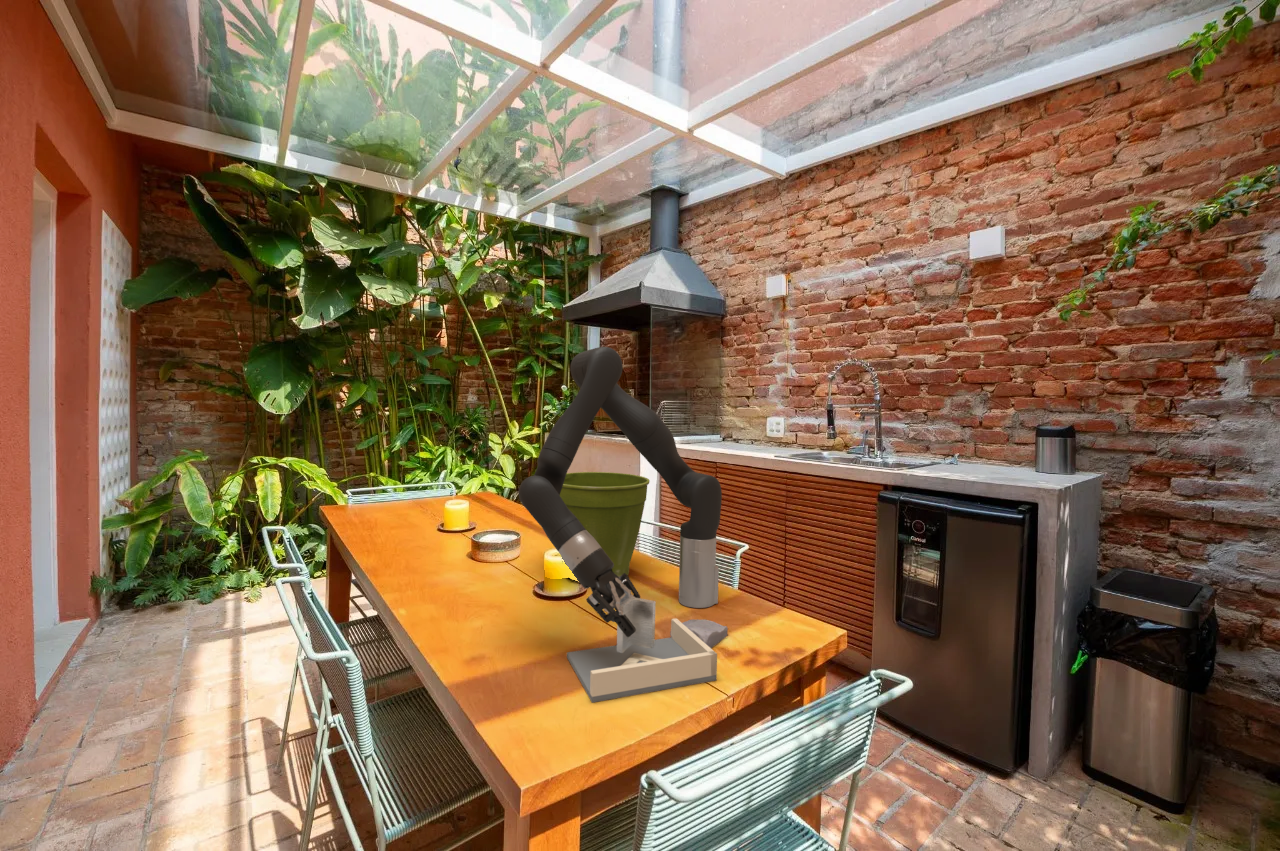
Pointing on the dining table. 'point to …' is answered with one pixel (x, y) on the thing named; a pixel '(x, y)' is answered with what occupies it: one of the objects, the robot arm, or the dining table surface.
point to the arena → (645, 666)
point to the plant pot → (608, 510)
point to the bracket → (638, 623)
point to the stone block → (707, 631)
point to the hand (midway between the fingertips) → (638, 628)
